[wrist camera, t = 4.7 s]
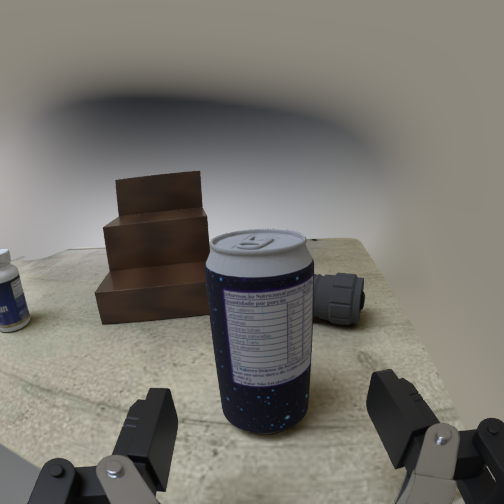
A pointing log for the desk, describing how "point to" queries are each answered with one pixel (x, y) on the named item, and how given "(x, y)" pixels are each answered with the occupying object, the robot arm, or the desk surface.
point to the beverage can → (261, 326)
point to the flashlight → (338, 298)
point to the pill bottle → (11, 296)
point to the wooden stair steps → (156, 251)
